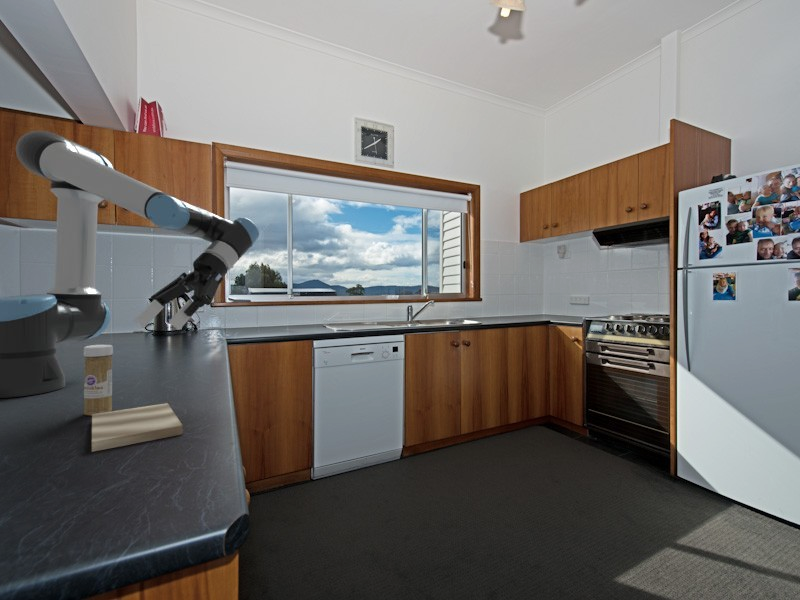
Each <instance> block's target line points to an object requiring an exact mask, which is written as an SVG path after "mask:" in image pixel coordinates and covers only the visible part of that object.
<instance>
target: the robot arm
mask: <svg viewBox="0 0 800 600" xmlns="http://www.w3.org/2000/svg"><path fill="white" fill-rule="evenodd" d="M15 152H16V157H17V159H18V161H19V162H20V163H21V164H22V166H23V167H24V168H25V169H26V170H27V171H29V172H31V173H33V174H34V175H36V176H38V177H41V178H43V179H46V180H49V181H50V192H51V193H52V194H53V195H54V196H55V197H56V198H57V204H56V206H57V208H56V210H57V212H56V238H55V239H56V240H55V263H54V264H55V265H54V266H55V268H54V286H53V287H52V288H50V289H49V290H47V291H46V293H42V294H41V293H38V294H32V293H31V294H18V295H10V296H8V295H7V296H2V297H0V399H3V398H4V399H7V398H17V397H26V396H33V395H39V394H44V393H49V392H54V391H57V390H61V389H64V388H65V387H66V376H65V374H64V372H63V369H62V367H61V365H60V363H59V360H58V358H57V344H61V343H67V342H68V343H69V342H82V341H85V340H86V341H87V340H90V339H93V338H96V337H98V336H100V335H101V334H103V332H105V331H106V329H107V328H108V326H109V325H110V321H111V310H110V307H108V306H107V304H106V303H105V302H104V301H102V292H100V291H99V290H98V289H97V288H96V265H97V261H96V259H97V240H98V239H97V237H98V236H97V235H98V233H97V232H98V214H99V213H98V212H99V209H98V207H99V204H100V203H101V202H103V201H104V200H105V201H107V202H110V203H112V204H113V205H116V206H118V207H120V208H123V209H125V210H127V211H129V212H132V214H133V213H134V214H136V215H138V216H140V217H143V218H145V219H147V220H148V221H150V222H151V223H153V224H154V225H155V226H157V227H159V228H162V229H163V230H167V231H174V232H177V233H182V234H185V235H188V236H192V237H196V238H199V239H200V240H201V239H202V240H204V241H206V242H209V243H210V245H208V246H207V247H206V249H204V250H203V252H202V253H201V254H200V255H199V256H198V257H197V258H195V260H194V261H193V262H192V266H193V271H191V272H190V273H188V274H187V273H186V272H182V273H181V274H180V275H179V276H177V278H176V279H174V280H172V281H171V282H170V283H168V284H167V285H166V286H165V285H164V287H163V288H161V289H160V290H159V291H156V292H155V293H153V294H152V295H151V296H150V299H151V302H150V303H149V304H148V305H147V306H146V307H145V308H144V309H143V310H142V311H141V312H140V313H139V314H138V315H137V316H136V317H135V318H134V319H133V321H134V322H135V323H136V324H138V325H139V326H140V327H141V328H146V326H148V325H149V323H150V322H152V321H153V320H154V318H156V316H157V315H159V313H160V312H161V311H162V310H164V309H165V305H167V304H169V303H170V302H172V301H174V300H175V299H177V298H178V297H180V296H182V295H184V294H189V293H191V292H192V291H193V295H191V296H190V299H188V300H187V301H186V302H185V303H184V304H183V306H182V307H180V309H179V310H177V312H176V313H175V314H174V315H173V316H172V317H171V318H170V319H169V321H168V322H169V324H170V325H172V327H174V328H175V329H176V330H177V331H179V330H181V329H182V328H183V327H184V326H185V325H186V324H187V322H188V321H189V320H190V319H191V318H192V317H193V315H194V314H195V313H196V312H198V310H199V309H200V308H202V307H203V308H204V306H205V305H206V306H209V305H211V304H212V302H213V300H214V298H215V295H216V293H217V290H218V288H219V286H220V284H221V283H222V282H223V281H224V277H226V275H227V273H228V272H229V271H230V270H232V269H233V268H234V265H235V264H236V263H237V262H239V260H240V259H241V258H242V256H244V255H245V254H246V252H247V251H248V250H249V249H250V248H252V247H253V245H254V244H255V243H256V241H257V240H258V238H259V237H260V232H259V228H258V226H257V225H256V223H254V221H252V220H251V219H249V218H247V217H237V218H236V219H235V220H233V221H232V220H230V219H227V218H224V217H221V216H219V215H216V214H215V213H212V212H210V211H208V210H206V209H204V208H202V207H199V206H195V205H194V204H190V203H188V202H186V201H183V200H181V199H180V198H177V197H175V196H172V195H171V194H168V193H165V192H163V191H161V190H159V189H157V188H155V187H153V186H150V185H149V184H146V183H144V182H142V181H139V180H137V179H135V178H133V177H131V176H129V175H127V174H125V173H122V172H120V171H118V170H116V169H115V168H114V166H113V165H112V163H111V162H110V161H109V159H108V158H106V157H105V156H103V155H102V154H100V153H98V152H97V151H95V150H94V149H92V148H89V147H85V146H84V145H81V144H80V143H77V142H75V141H73V140H71V139H68V138H65V137H64V136H62V135H59V134H57V133H54V132H50V131H46V130H33V131H30V132H27V133H25V134H23V135H22V136H21V137H20V138H18V140H17V142H16V145H15Z"/></svg>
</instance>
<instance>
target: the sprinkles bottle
mask: <svg viewBox="0 0 800 600" xmlns="http://www.w3.org/2000/svg"><path fill="white" fill-rule="evenodd" d="M113 354H114V347H113V345H112V344H93V345H92V344H91V345H87V346H84V347H83V357H84V382H83V383H84V384H83V387H84V388H83V397H84V411H83V415H85V416H91V417H92V414H97V413H104V412H111V411H113V406H112V405H113V404H112V402H113V399H112V395H113V369H112V365H113V363H112V360H113V359H112V358H113Z"/></svg>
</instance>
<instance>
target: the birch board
mask: <svg viewBox="0 0 800 600" xmlns="http://www.w3.org/2000/svg"><path fill="white" fill-rule="evenodd" d="M183 427H184V426H183V423H181V421H180V420H179V418H178V416H177V415H176V413H175V411H173V409H172V408H171V406H170V405H169V403H168V402H166V403H161V404H160V403H159V404H152V405H146V406H139V407H133V408H126V409H125V408H124V409H118V410H111V411H110V412H104V413H97V414H92V416H91V452H92V453H93V452H99V451H104V450H108V449H113V448H114V449H115V448H119V447H124V446H129V445H133V444H139V443H144V442H149V441H155V440H160V439H165V438H169V437H174V436H175V437H176V436H180V435H183V433H184V432H183Z"/></svg>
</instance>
